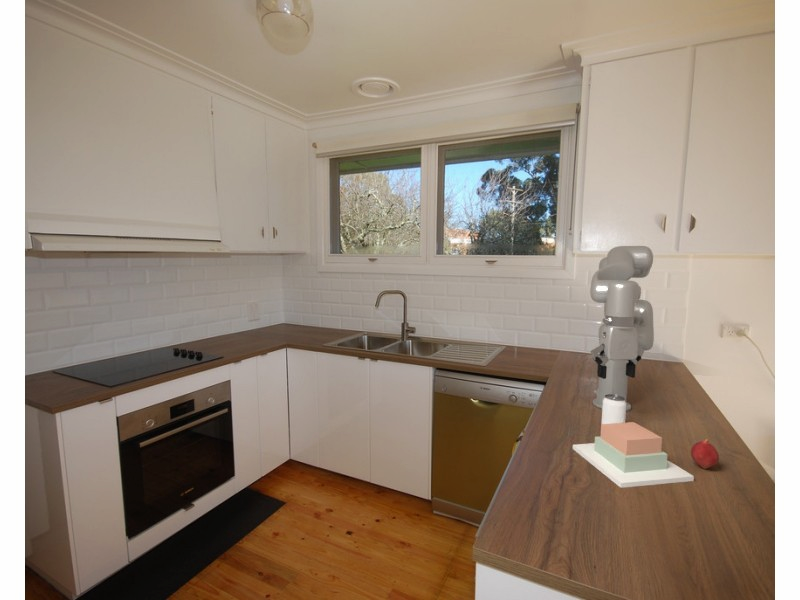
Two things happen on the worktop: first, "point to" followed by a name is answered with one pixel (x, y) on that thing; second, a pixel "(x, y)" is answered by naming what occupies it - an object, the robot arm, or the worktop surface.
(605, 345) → the robot arm
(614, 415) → the can
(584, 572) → the worktop surface
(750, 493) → the worktop surface
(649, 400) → the worktop surface
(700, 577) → the worktop surface
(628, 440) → the tiered block pedestal
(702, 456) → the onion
